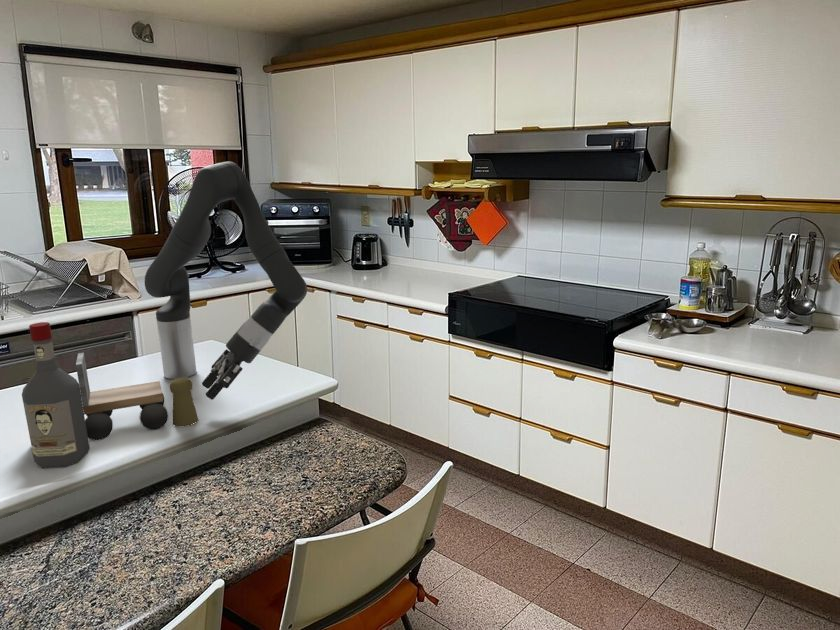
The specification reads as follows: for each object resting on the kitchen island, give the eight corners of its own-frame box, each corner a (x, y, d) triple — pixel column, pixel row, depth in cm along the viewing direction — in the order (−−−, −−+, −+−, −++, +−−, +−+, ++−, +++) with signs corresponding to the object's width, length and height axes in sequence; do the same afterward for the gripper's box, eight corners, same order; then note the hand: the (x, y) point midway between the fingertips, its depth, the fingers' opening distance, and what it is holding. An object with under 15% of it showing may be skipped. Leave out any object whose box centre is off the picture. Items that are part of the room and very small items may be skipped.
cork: (202, 416, 159) (197, 374, 156) (192, 426, 153) (186, 383, 151) (179, 416, 160) (173, 374, 157) (167, 426, 154) (162, 383, 151)
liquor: (52, 450, 143) (28, 320, 135) (94, 448, 143) (72, 318, 136) (30, 470, 134) (3, 331, 127) (75, 467, 134) (51, 329, 127)
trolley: (87, 421, 159) (76, 351, 154) (165, 407, 166) (156, 340, 161) (85, 442, 146) (72, 367, 142) (169, 427, 153) (159, 355, 149)
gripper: (233, 324, 163) (191, 375, 161) (242, 337, 150) (196, 392, 148) (256, 341, 166) (215, 391, 164) (267, 356, 153) (223, 409, 152)
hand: (206, 391), depth 156 cm, fingers open, 8 cm apart
